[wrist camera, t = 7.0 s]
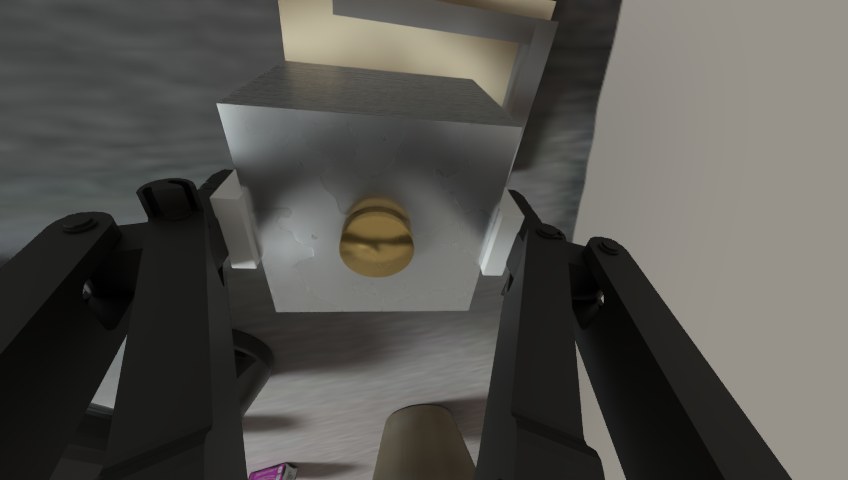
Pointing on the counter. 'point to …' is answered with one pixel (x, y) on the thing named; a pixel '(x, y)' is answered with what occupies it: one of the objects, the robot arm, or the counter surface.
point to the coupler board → (430, 41)
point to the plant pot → (423, 447)
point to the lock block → (369, 184)
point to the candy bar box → (275, 473)
